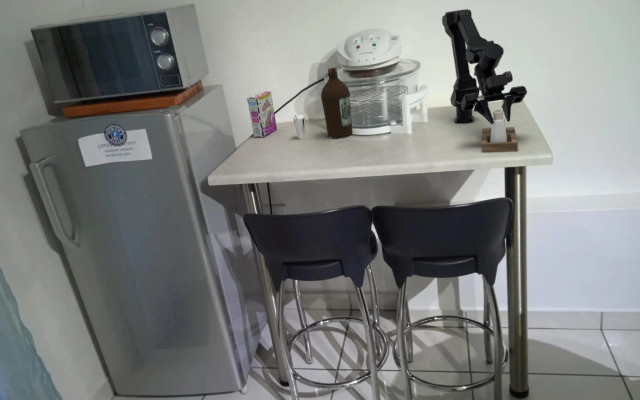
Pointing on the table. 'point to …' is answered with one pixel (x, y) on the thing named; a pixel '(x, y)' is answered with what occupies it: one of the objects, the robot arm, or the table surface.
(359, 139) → the table surface
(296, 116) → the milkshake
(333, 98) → the olive oil
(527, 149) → the table surface
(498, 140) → the pepper shaker
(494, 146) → the wooden tray
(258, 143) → the table surface
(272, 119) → the candy bar box
